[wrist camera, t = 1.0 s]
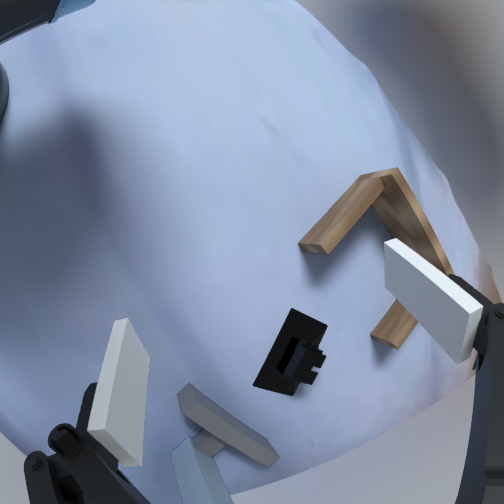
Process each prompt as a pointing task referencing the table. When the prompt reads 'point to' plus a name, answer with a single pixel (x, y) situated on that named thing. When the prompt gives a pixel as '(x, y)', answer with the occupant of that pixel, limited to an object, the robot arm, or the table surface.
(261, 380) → the black angular piece
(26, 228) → the table surface
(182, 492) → the block
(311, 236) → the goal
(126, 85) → the table surface
